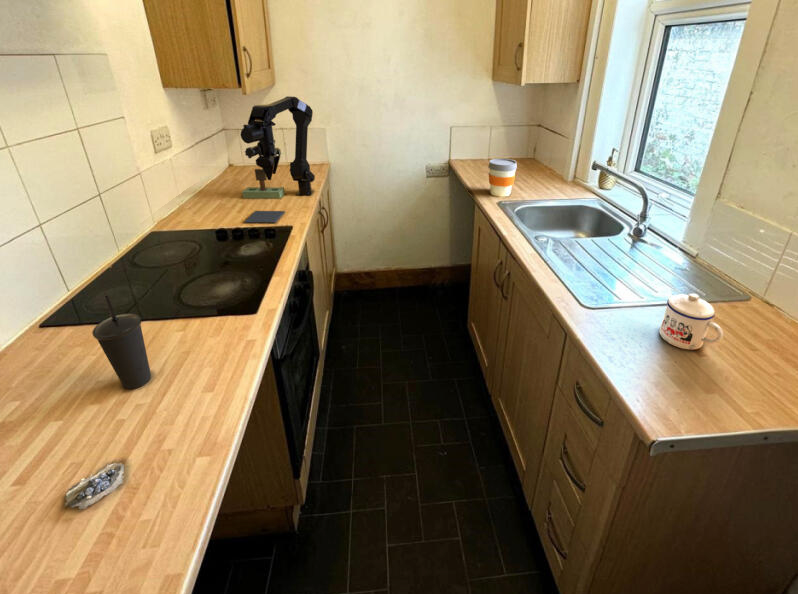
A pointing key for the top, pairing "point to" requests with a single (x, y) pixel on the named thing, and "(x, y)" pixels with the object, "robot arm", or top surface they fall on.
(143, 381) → the drinking cup
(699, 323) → the teacup with lid
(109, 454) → the top surface
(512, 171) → the reusable coffee cup
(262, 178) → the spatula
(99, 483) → the blueberries
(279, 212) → the mat
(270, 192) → the rack
